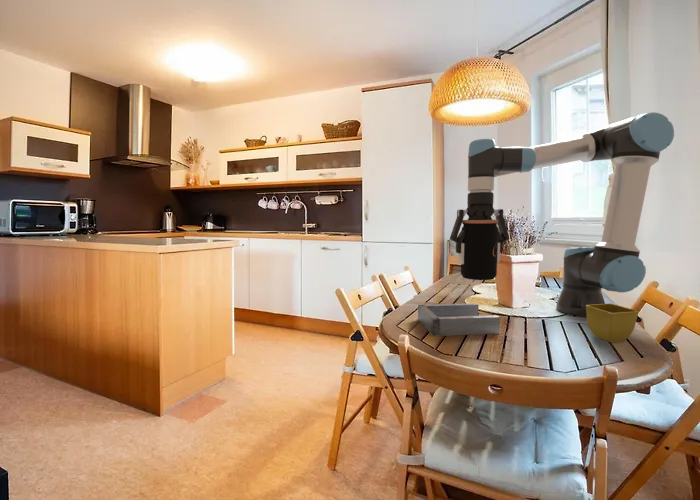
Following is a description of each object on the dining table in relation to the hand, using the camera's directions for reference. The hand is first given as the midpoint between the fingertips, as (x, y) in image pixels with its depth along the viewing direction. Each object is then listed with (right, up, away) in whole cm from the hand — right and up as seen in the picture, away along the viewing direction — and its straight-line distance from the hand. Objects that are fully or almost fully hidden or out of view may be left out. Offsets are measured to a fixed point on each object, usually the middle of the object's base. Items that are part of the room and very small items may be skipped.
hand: (478, 263), depth 114 cm
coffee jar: (0, -5, 0) cm, 5 cm away
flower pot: (+32, -21, -12) cm, 40 cm away
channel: (-7, -20, +1) cm, 21 cm away
